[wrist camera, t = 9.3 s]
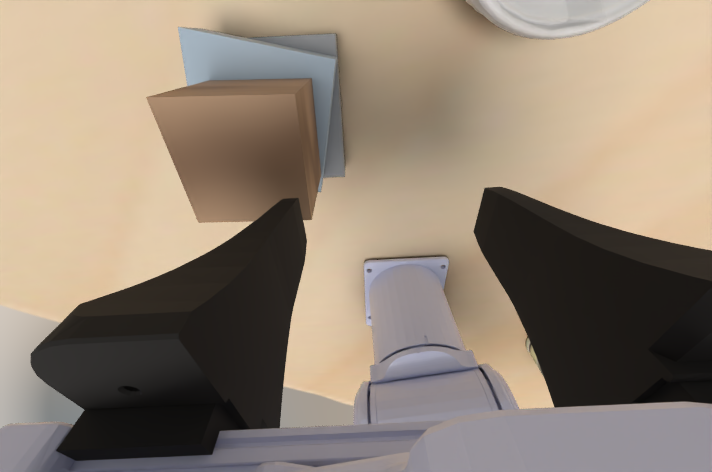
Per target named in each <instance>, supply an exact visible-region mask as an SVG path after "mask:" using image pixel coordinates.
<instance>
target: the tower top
mask: <svg viewBox="0 0 712 472" xmlns="http://www.w3.org/2000/svg"><path fill="white" fill-rule="evenodd" d="M178 30H179V37H180V43H181V49H182V55H183V61H184V68H185V74H186V80H187V86H190V85H194V84H198V83H201V82H205V81H209V80H250V79H295V78H312V85H313V96H314V106H315V116H316V127H317V137H318V147H319V157H320V168H321V178H320V183H319V188H318V192H321V188H322V182H323V177H324V169H325V160H326V151H327V143H328V134H329V125H330V116H331V108H332V99H333V90H334V81H335V73H336V64H337V57H335V56H330V55H326V54H321V53H316V52H311V51H306V50H302V49H297V48H292V47H287V46H282V45H278V44H273V43H268V42H263V41H258V40H254V39H249V38H244V37H239V36H234V35H230V34H225V33H220V32H215V31H210V30H206V29H198V28H185V27H178Z"/></svg>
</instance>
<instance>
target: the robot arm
mask: <svg viewBox="0 0 712 472" xmlns="http://www.w3.org/2000/svg"><path fill="white" fill-rule="evenodd" d="M474 234H475V236H476V239H477V242H478V244H479V246H480V249H481V251H482V253H483V255H484V256H485V258H486V260H487V262H488V263H489V265H490V267H491V268H492V270H493V271H494V273H495V275H496V276H497V278H498V280H499V281H500V283H501V285H502V286H503V288H504V289H505V291H506V293H507V294H508V296H509V298H510V300H511V301H512V303H513V305H514V307H515V309H516V311H517V313H518V315H519V318H520V320H521V322H522V324H523V326H524V328H525V331H526V333H527V335H528V338H529V340H530V343H531V345H532V347H533V350H534V352H535V354H536V357H537V360H538V362H539V365H540V368H541V370H542V373H543V376H544V378H545V381H546V383H547V386H548V389H549V392H550V395H551V398H552V401H553V404H554V407H555V408H534V409H519V407H518V405H517V403H516V400H515V398H514V396H513V394H512V392H511V390H510V388H509V386H508V385H507V383H506V381H505V380H504V378H503V377H502V376H501V375H500V374H499V373H498V372H497V371H495V370H494V369H493V368H492V367H491V366H489V365H488V364H480V365H478V364H477V362H476V359H475V357H474V354H473V352H472V350H466V349H465V347H464V344H463V341H462V339H461V336H460V333H459V331H458V328H457V325H456V323H455V320H454V318H453V315H452V312H451V310H450V307H449V304H448V302H447V299H446V296H445V294H444V291H443V290H444V285H445V280H446V275H447V270H448V265H449V260H448V258H447V257H424V258H405V259H385V260H368V261H366V262H365V263H364V282H365V307H366V324H367V325H369V326H372V336H373V349H374V361H375V365H371V366H370V375H371V381H364V382H363V383H362V384H361V386H360V388H359V390H358V391H357V393H356V396H355V401H354V425H338V426H315V427H294V428H280V416H281V403H282V392H283V382H284V372H285V362H286V354H287V345H288V337H289V330H290V322H291V316H292V311H293V306H294V302H295V298H296V294H297V290H298V286H299V282H300V278H301V274H302V270H303V266H304V262H305V254H306V244H307V239H306V233H305V228H304V223H303V218H302V213H301V208H300V202H299V198H287V199H282V200H280V201H279V202H278V203H276V204H275V205H274V206H273V207H271V208H270V209H269V210H268V211H267V212H265V213H264V214H263V215H262V216H261V217H259V218H258V219H257V220H256V221H254V222H253V223H252V224H250V225H249V226H248V227H246V228H245V229H244V230H242V231H241V232H239V233H238V234H237V235H235V236H234V237H232V238H231V239H229V240H228V241H226V242H225V243H223V244H222V245H220V246H218V247H217V248H215V249H213V250H211V251H210V252H208V253H206V254H204V255H202V256H200V257H198V258H196V259H194V260H192V261H190V262H188V263H186V264H184V265H182V266H180V267H178V268H176V269H174V270H172V271H169V272H167V273H165V274H162V275H160V276H158V277H155V278H153V279H150V280H148V281H145V282H143V283H140V284H138V285H135V286H132V287H130V288H127V289H124V290H121V291H118V292H115V293H112V294H109V295H106V296H103V297H100V298H97V299H94V300H91V301H88V302H85V303H82V304H80V305H78V306H77V307H76V308H75V309H74V310H73V311H72V312H71V313H70V314H69V315H68V316H67V317H66V318H65V319H64V321H63V322H62V323H61V324H60V325H59V326H58V327H57V328H56V329H54V330H53V332H51V334H49V336H47V337H46V338H45V339H44V340H43V341H42V342H41V343H40V344H39V345H38V346H37V348H36V349H35V350H34V351H33V352H32V353H31V366H32V368H33V370H34V371H35V373H36V375H37V376H38V377H40V378H41V379H42V380H43V381H44V382H46V383H47V384H48V385H49V386H51V387H52V388H54V389H55V390H57V391H58V392H59V393H61V394H63V395H64V396H65V397H67V398H68V399H70V400H71V401H73V402H74V403H76V404H77V405H78V406H80V407H82V408H83V409H84V410H85V411H84V412H83V413H82V415H81V416H80V418H79V419H78V420H77V422H76V423H75V425H72V424H67V423H63V422H39V423H16V424H8V425H5V426H3V427H2V428H1V429H0V472H712V251H711V250H705V249H700V248H694V247H690V246H685V245H680V244H675V243H670V242H666V241H662V240H658V239H653V238H649V237H645V236H641V235H637V234H633V233H629V232H626V231H622V230H619V229H616V228H612V227H609V226H606V225H602V224H599V223H596V222H593V221H590V220H587V219H584V218H581V217H579V216H576V215H573V214H570V213H568V212H565V211H563V210H560V209H557V208H555V207H552V206H550V205H547V204H545V203H543V202H540V201H538V200H535V199H533V198H530V197H528V196H526V195H523V194H521V193H518V192H515V191H512V190H510V189H506V188H503V187H492V188H485V189H484V193H483V197H482V201H481V205H480V209H479V213H478V217H477V220H476V224H475V228H474ZM442 265H444V266H442ZM367 269H371V270H367Z"/></svg>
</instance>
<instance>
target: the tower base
mask: <svg viewBox="0 0 712 472" xmlns="http://www.w3.org/2000/svg"><path fill="white" fill-rule="evenodd" d="M249 39H254V40H258V41H263V42H268V43H273V44H278V45H282V46H287V47H292V48H297V49H302V50H306V51H311V52H316V53H321V54H326V55H330V56H335V57H337V64H336V73H335V81H334V90H333V99H332V108H331V116H330V125H329V134H328V143H327V151H326V160H325V169H324V177H323V178H325V177H345V158H344V143H343V128H342V112H341V97H340V81H339V66H338V51H337V35H336V34H316V35H295V36H274V37H254V38H249Z"/></svg>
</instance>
